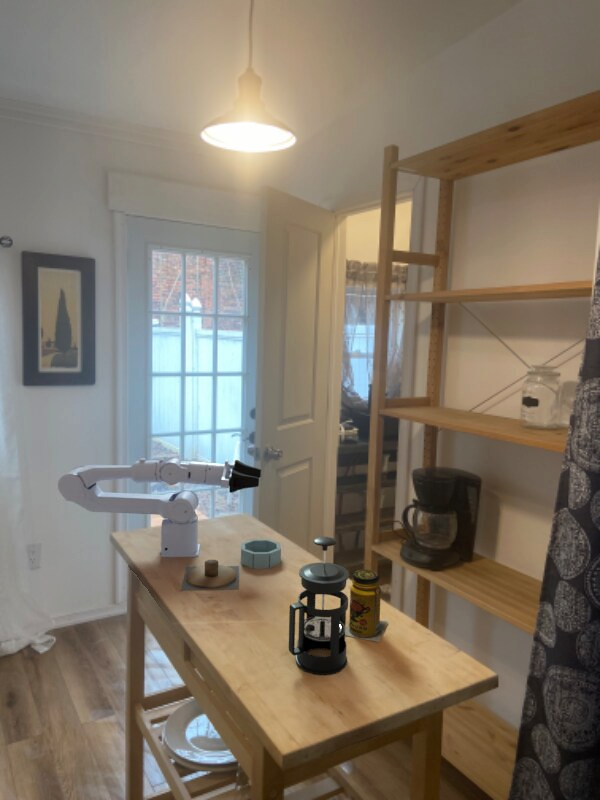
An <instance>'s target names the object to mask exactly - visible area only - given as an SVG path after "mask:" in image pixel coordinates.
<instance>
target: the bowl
mask: <svg viewBox="0 0 600 800" xmlns="http://www.w3.org/2000/svg"><path fill="white" fill-rule="evenodd" d="M281 559H282V547H281V543H280V542H278V541H276V540H272V539H269V538H259V539H258V538H257V539H254V538H253V539H249V540H247V541H245V542H242V543H240V564H241V565H243V566H246V567H248V568H251V569H272V568H273V567H276V566H278V565H280V564H281V562H282V561H281Z"/></svg>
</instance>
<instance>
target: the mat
mask: <svg viewBox="0 0 600 800" xmlns="http://www.w3.org/2000/svg"><path fill="white" fill-rule="evenodd" d="M227 566H228V567H230V568H232V569H234V570H235V572H236V579H235V581H234V582H232V583H231V584H229V585H227V586H223V587H219V588H200V587H196V586H193V585H191V584H189V583H188V581H187V573H188V572H189V571H190V570H191V569H193V568H196V567H197V566H185V571H184V575H183V580H182V585H181V589H180V591H182V592H183V591H219V590H221V591H223V590H224V591H226V590H228V591H229V590H230V591H231V590H233V591H235V590H236V591H237V590H239V589H240V566H239V565H227Z"/></svg>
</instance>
